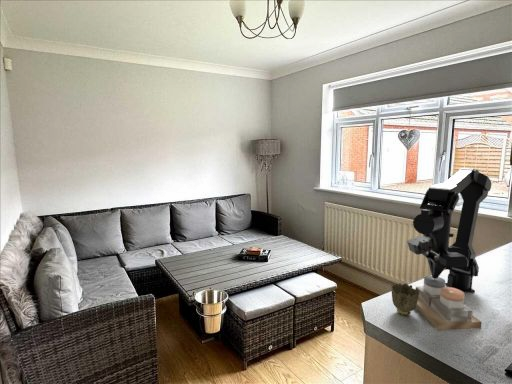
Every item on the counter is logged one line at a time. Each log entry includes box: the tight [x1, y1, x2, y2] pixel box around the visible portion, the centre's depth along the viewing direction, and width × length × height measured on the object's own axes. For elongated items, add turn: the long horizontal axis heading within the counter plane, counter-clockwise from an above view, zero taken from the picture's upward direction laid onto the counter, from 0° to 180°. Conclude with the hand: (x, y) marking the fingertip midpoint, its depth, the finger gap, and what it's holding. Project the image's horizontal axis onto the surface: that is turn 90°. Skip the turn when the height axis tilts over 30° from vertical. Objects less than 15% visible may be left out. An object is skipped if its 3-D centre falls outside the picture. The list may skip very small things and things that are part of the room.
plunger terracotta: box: [440, 286, 465, 309], centre depth 86 cm, size 6×6×4 cm
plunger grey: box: [423, 275, 446, 295], centre depth 94 cm, size 6×6×4 cm
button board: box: [414, 285, 483, 331], centre depth 90 cm, size 12×16×5 cm
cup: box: [391, 282, 420, 317], centre depth 90 cm, size 8×7×8 cm
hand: (434, 278), depth 93 cm, fingers closed
